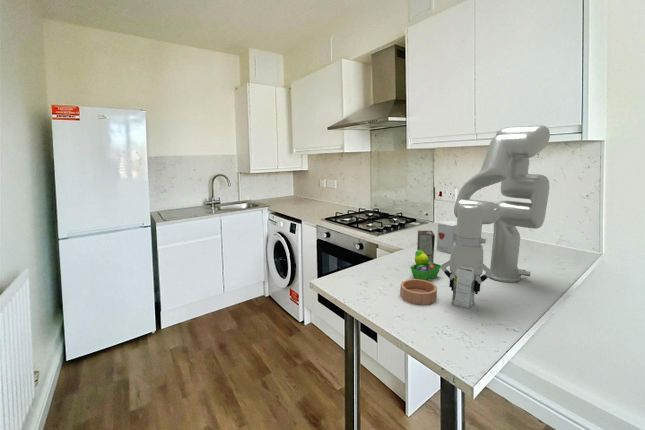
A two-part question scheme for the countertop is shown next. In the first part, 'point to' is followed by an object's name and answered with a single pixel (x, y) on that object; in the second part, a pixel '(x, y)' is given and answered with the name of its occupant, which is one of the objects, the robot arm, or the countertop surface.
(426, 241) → the coffee box
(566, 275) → the countertop surface
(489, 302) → the countertop surface
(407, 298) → the bowl
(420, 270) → the fruit basket
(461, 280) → the syrup box
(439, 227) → the supplement box
